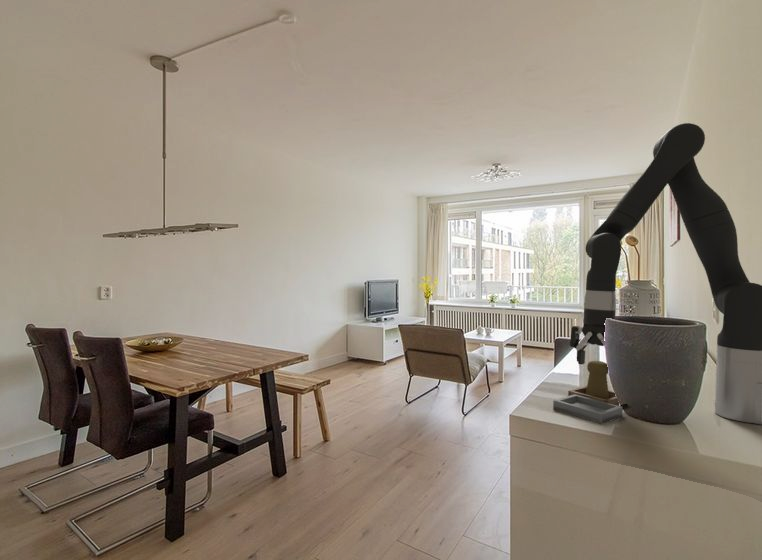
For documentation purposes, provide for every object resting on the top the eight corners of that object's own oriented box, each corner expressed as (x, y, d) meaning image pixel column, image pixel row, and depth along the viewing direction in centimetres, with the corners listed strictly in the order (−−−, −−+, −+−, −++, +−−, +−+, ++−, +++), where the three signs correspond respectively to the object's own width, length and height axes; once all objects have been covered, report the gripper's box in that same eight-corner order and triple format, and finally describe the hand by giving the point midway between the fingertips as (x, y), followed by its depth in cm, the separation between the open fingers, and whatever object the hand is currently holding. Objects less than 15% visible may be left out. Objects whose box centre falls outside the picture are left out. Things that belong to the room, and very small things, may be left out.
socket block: (626, 404, 106) (626, 394, 106) (607, 410, 100) (608, 401, 100) (587, 394, 115) (588, 385, 115) (568, 399, 109) (568, 390, 109)
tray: (622, 416, 96) (622, 407, 96) (601, 423, 91) (602, 414, 91) (574, 402, 106) (574, 394, 106) (553, 408, 101) (553, 400, 101)
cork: (614, 405, 104) (615, 364, 104) (591, 405, 104) (592, 363, 104) (602, 398, 110) (603, 359, 110) (580, 398, 110) (581, 358, 110)
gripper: (634, 309, 103) (631, 371, 104) (581, 305, 115) (578, 360, 115) (621, 310, 99) (617, 375, 99) (566, 305, 111) (564, 363, 111)
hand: (596, 367), depth 107 cm, fingers open, 8 cm apart
